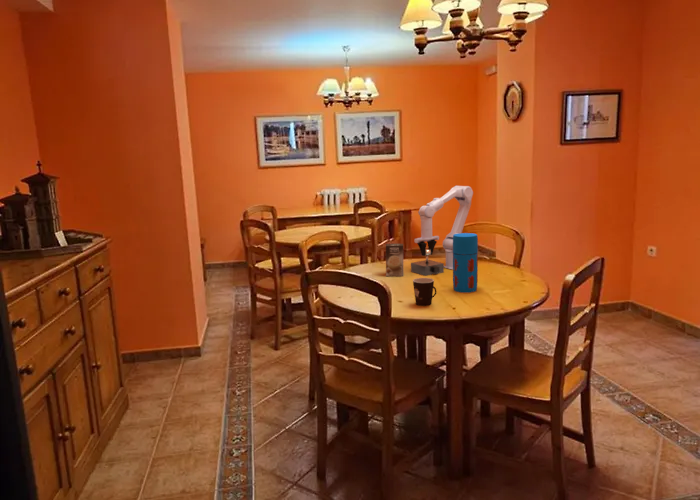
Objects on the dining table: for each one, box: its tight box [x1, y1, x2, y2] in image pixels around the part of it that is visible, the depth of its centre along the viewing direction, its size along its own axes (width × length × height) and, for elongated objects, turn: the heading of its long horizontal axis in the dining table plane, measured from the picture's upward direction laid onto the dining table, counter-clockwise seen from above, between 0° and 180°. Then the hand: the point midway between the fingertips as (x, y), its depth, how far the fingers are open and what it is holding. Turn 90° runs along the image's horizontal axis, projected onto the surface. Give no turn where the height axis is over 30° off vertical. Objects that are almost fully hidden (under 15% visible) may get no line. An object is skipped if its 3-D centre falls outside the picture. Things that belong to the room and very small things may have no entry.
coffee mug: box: [412, 277, 437, 307], centre depth 211 cm, size 12×9×10 cm
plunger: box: [425, 248, 432, 264], centre depth 268 cm, size 4×4×8 cm
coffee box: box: [385, 243, 404, 277], centre depth 264 cm, size 9×6×16 cm
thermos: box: [452, 232, 479, 294], centre depth 231 cm, size 11×11×25 cm
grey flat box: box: [410, 259, 445, 277], centre depth 268 cm, size 12×14×5 cm
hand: (427, 255), depth 268 cm, fingers closed on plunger, 4 cm apart
